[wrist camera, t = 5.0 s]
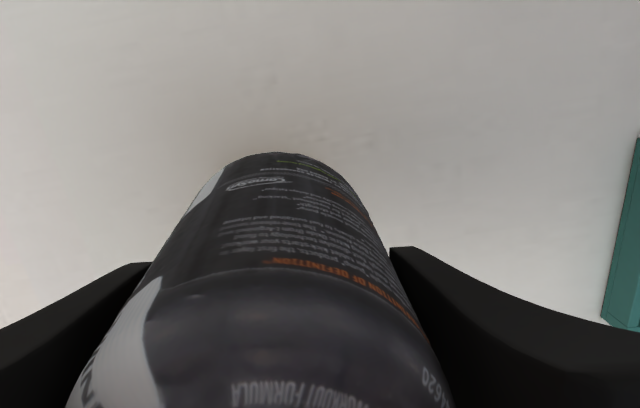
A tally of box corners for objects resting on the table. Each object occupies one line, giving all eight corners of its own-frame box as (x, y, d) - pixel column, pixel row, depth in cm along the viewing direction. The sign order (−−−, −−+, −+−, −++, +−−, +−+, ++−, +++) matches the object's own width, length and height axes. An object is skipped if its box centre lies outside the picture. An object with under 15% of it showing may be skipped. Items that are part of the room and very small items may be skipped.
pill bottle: (149, 214, 14) (-357, 778, 3) (303, 110, 13) (367, 364, 2) (259, 342, 15) (189, 973, 5) (399, 257, 15) (688, 781, 4)
